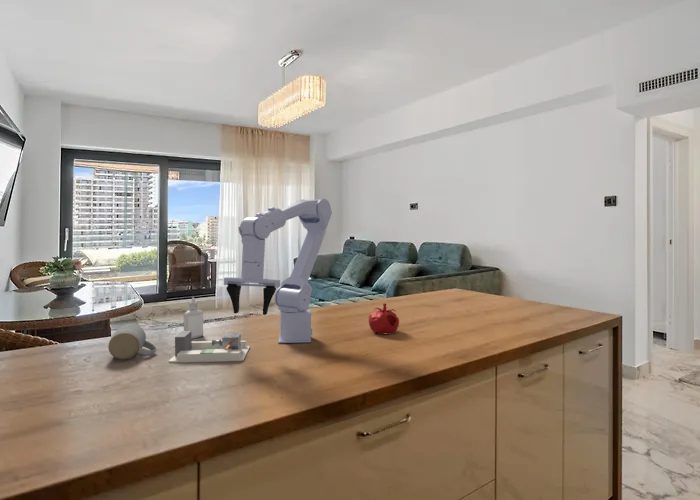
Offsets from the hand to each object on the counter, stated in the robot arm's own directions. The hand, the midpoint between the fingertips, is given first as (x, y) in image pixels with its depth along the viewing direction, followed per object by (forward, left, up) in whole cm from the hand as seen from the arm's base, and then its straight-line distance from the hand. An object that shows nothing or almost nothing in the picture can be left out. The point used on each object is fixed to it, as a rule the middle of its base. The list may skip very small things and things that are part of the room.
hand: (250, 313), depth 107 cm
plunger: (+7, +2, -10) cm, 12 cm away
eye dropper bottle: (+20, -17, -11) cm, 28 cm away
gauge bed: (+10, 0, -11) cm, 15 cm away
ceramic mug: (+30, -1, -11) cm, 32 cm away
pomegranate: (-39, -19, -11) cm, 45 cm away
